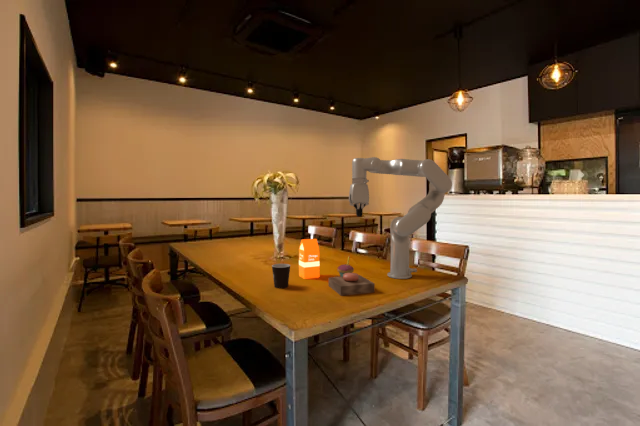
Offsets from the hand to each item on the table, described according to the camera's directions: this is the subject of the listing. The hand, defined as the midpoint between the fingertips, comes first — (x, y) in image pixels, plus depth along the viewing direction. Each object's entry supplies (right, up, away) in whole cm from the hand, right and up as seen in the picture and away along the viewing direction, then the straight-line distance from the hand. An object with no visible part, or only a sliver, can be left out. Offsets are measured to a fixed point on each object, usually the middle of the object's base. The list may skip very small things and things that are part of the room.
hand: (359, 216), depth 172 cm
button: (-7, -28, -23) cm, 37 cm away
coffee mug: (-39, -33, -17) cm, 54 cm away
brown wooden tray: (-7, -33, -23) cm, 41 cm away
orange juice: (-27, -32, 0) cm, 42 cm away
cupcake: (-8, -32, -3) cm, 33 cm away
